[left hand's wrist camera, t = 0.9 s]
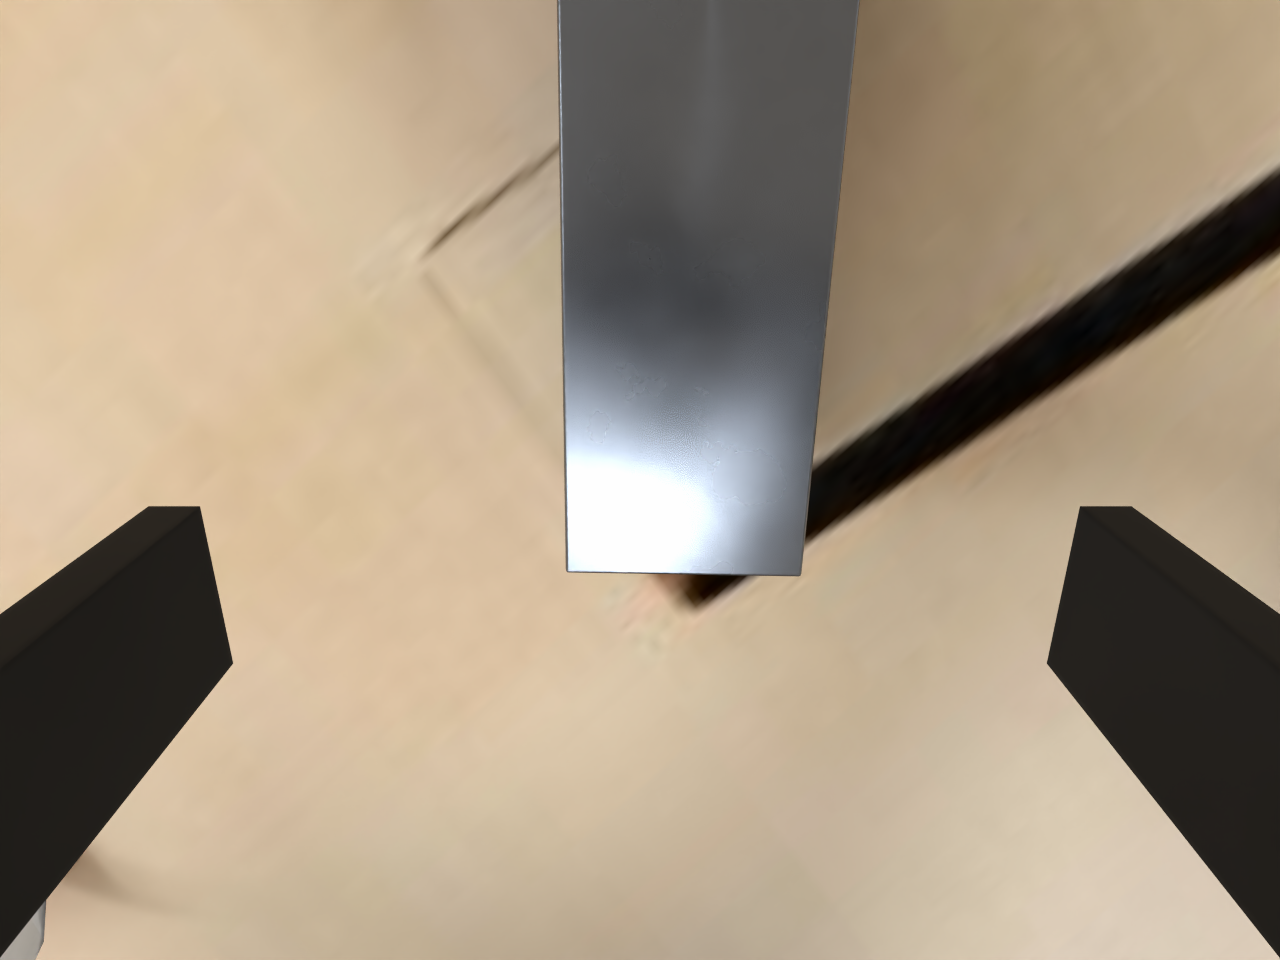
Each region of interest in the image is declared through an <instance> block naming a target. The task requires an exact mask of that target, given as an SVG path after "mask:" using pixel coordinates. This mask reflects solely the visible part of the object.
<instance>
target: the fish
mask: <svg viewBox="0 0 1280 960" xmlns="http://www.w3.org/2000/svg"><path fill="white" fill-rule="evenodd" d="M45 910H46V900H45V902H44V903H43V904H42V906H41V907H40V908H39V909H38V911H37V912H36V913H35V914H34V916H33V917H32V918H31V919H30V921H29V922H28V923H27V924H26V926H25V927H24V928H23V930H22V931H21V932H20V933H19V935H18V936H17V937H16V938H15V940H14V941H13V942H12V943H11V945H10V946H9V947H8V949H7V950H6V951H5V952H4V954H3V955H2V956H1V957H0V960H35V959H36V957H37V955H38V953H39V950H40V948H41V946H42V944H43V942H44V927H45Z"/></svg>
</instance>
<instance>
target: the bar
mask: <svg viewBox="0 0 1280 960" xmlns="http://www.w3.org/2000/svg"><path fill="white" fill-rule="evenodd" d="M859 3H860V0H557V28H558V92H559V156H560V220H561V284H562V348H563V412H564V477H565V541H566V571H567V572H580V573H639V574H697V575H756V576H800V575H801V571H802V561H803V551H804V541H805V532H806V522H807V512H808V502H809V492H810V483H811V473H812V463H813V453H814V443H815V434H816V424H817V414H818V404H819V394H820V385H821V375H822V365H823V355H824V345H825V336H826V326H827V316H828V306H829V297H830V287H831V277H832V267H833V257H834V248H835V238H836V228H837V218H838V208H839V199H840V189H841V179H842V169H843V159H844V150H845V140H846V130H847V120H848V110H849V101H850V91H851V81H852V71H853V62H854V52H855V42H856V32H857V22H858V13H859Z"/></svg>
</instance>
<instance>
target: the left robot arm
mask: <svg viewBox="0 0 1280 960" xmlns="http://www.w3.org/2000/svg"><path fill="white" fill-rule="evenodd" d="M232 664H233V661H232V656H231V651H230V646H229V642H228V637H227V632H226V627H225V623H224V618H223V613H222V609H221V604H220V599H219V594H218V590H217V585H216V580H215V575H214V571H213V566H212V561H211V557H210V552H209V547H208V542H207V538H206V533H205V528H204V524H203V519H202V514H201V509H200V506H148V507H147V508H146V509H144V510H143V511H142V512H140V513H139V514H137V515H136V516H135V517H133V518H132V519H131V520H129V521H128V522H126V523H125V524H124V525H122V526H121V527H120V528H118V529H117V530H115V531H114V532H113V533H111V534H110V535H109V536H107V537H106V538H104V539H103V540H102V541H100V542H99V543H98V544H96V545H95V546H93V547H92V548H91V549H89V550H88V551H87V552H85V553H84V554H82V555H81V556H80V557H78V558H77V559H76V560H74V561H73V562H71V563H70V564H69V565H67V566H66V567H65V568H63V569H62V570H60V571H59V572H58V573H56V574H55V575H54V576H52V577H51V578H49V579H48V580H47V581H45V582H44V583H43V584H41V585H40V586H38V587H37V588H36V589H34V590H33V591H32V592H30V593H29V594H27V595H26V596H25V597H23V598H22V599H21V600H19V601H18V602H16V603H15V604H14V605H12V606H11V607H10V608H8V609H7V610H5V611H4V612H3V613H1V614H0V957H1V956H2V955H3V954H4V952H5V951H6V950H7V949H8V947H9V946H10V945H11V943H12V942H13V941H14V940H15V938H16V937H17V936H18V935H19V933H20V932H21V931H22V930H23V928H24V927H25V926H26V924H27V923H28V922H29V921H30V919H31V918H32V917H33V916H34V914H35V913H36V912H37V911H38V909H39V908H40V907H41V906H42V904H43V903H44V902H45V900H46V899H47V898H48V897H49V895H50V894H51V893H52V892H53V890H54V889H55V888H56V887H57V885H58V884H59V883H60V882H61V880H62V879H63V878H64V876H65V875H66V874H67V873H68V871H69V870H70V869H71V868H72V866H73V865H74V864H75V863H76V861H77V860H78V859H79V858H80V856H81V855H82V854H83V852H84V851H85V850H86V849H87V847H88V846H89V845H90V844H91V842H92V841H93V840H94V839H95V837H96V836H97V835H98V833H99V832H100V831H101V830H102V828H103V827H104V826H105V825H106V823H107V822H108V821H109V820H110V818H111V817H112V816H113V815H114V813H115V812H116V811H117V809H118V808H119V807H120V806H121V804H122V803H123V802H124V801H125V799H126V798H127V797H128V796H129V794H130V793H131V792H132V791H133V789H134V788H135V787H136V785H137V784H138V783H139V782H140V780H141V779H142V778H143V777H144V775H145V774H146V773H147V772H148V770H149V769H150V768H151V767H152V765H153V764H154V763H155V761H156V760H157V759H158V758H159V756H160V755H161V754H162V753H163V751H164V750H165V749H166V748H167V746H168V745H169V744H170V743H171V741H172V740H173V739H174V737H175V736H176V735H177V734H178V732H179V731H180V730H181V729H182V727H183V726H184V725H185V724H186V722H187V721H188V720H189V718H190V717H191V716H192V715H193V713H194V712H195V711H196V710H197V708H198V707H199V706H200V705H201V703H202V702H203V701H204V700H205V698H206V697H207V696H208V694H209V693H210V692H211V691H212V689H213V688H214V687H215V686H216V684H217V683H218V682H219V681H220V679H221V678H222V677H223V676H224V674H225V673H226V672H227V670H228V669H229V668H230V667H231V665H232ZM1047 664H1048V665H1049V667H1050V668H1051V669H1052V670H1053V672H1054V673H1055V674H1056V676H1057V677H1058V678H1059V679H1060V681H1061V682H1062V683H1063V684H1064V686H1065V687H1066V688H1067V689H1068V691H1069V692H1070V693H1071V694H1072V696H1073V697H1074V698H1075V700H1076V701H1077V702H1078V703H1079V705H1080V706H1081V707H1082V708H1083V710H1084V711H1085V712H1086V713H1087V715H1088V716H1089V717H1090V718H1091V720H1092V721H1093V722H1094V724H1095V725H1096V726H1097V727H1098V729H1099V730H1100V731H1101V732H1102V734H1103V735H1104V736H1105V737H1106V739H1107V740H1108V741H1109V742H1110V744H1111V745H1112V746H1113V748H1114V749H1115V750H1116V751H1117V753H1118V754H1119V755H1120V756H1121V758H1122V759H1123V760H1124V761H1125V763H1126V764H1127V765H1128V767H1129V768H1130V769H1131V770H1132V772H1133V773H1134V774H1135V775H1136V777H1137V778H1138V779H1139V780H1140V782H1141V783H1142V784H1143V785H1144V787H1145V788H1146V789H1147V791H1148V792H1149V793H1150V794H1151V796H1152V797H1153V798H1154V799H1155V801H1156V802H1157V803H1158V804H1159V806H1160V807H1161V808H1162V809H1163V811H1164V812H1165V813H1166V815H1167V816H1168V817H1169V818H1170V820H1171V821H1172V822H1173V823H1174V825H1175V826H1176V827H1177V828H1178V830H1179V831H1180V832H1181V833H1182V835H1183V836H1184V837H1185V839H1186V840H1187V841H1188V842H1189V844H1190V845H1191V846H1192V847H1193V849H1194V850H1195V851H1196V852H1197V854H1198V855H1199V856H1200V858H1201V859H1202V860H1203V861H1204V863H1205V864H1206V865H1207V866H1208V868H1209V869H1210V870H1211V871H1212V873H1213V874H1214V875H1215V876H1216V878H1217V879H1218V880H1219V882H1220V883H1221V884H1222V885H1223V887H1224V888H1225V889H1226V890H1227V892H1228V893H1229V894H1230V895H1231V897H1232V898H1233V899H1234V900H1235V902H1236V903H1237V904H1238V906H1239V907H1240V908H1241V909H1242V911H1243V912H1244V913H1245V914H1246V916H1247V917H1248V918H1249V919H1250V921H1251V922H1252V923H1253V924H1254V926H1255V927H1256V928H1257V930H1258V931H1259V932H1260V933H1261V935H1262V936H1263V937H1264V938H1265V940H1266V941H1267V942H1268V943H1269V945H1270V946H1271V947H1272V949H1273V950H1274V951H1275V952H1276V954H1277V955H1278V956H1279V957H1280V614H1279V613H1277V612H1276V611H1275V610H1273V609H1272V608H1270V607H1269V606H1268V605H1266V604H1265V603H1264V602H1262V601H1261V600H1259V599H1258V598H1257V597H1255V596H1254V595H1253V594H1251V593H1250V592H1248V591H1247V590H1246V589H1244V588H1243V587H1242V586H1240V585H1239V584H1237V583H1236V582H1235V581H1233V580H1232V579H1231V578H1229V577H1228V576H1226V575H1225V574H1224V573H1222V572H1221V571H1220V570H1218V569H1217V568H1215V567H1214V566H1213V565H1211V564H1210V563H1209V562H1207V561H1206V560H1204V559H1203V558H1202V557H1200V556H1199V555H1198V554H1196V553H1195V552H1193V551H1192V550H1191V549H1189V548H1188V547H1187V546H1185V545H1184V544H1182V543H1181V542H1180V541H1178V540H1177V539H1176V538H1174V537H1173V536H1171V535H1170V534H1169V533H1167V532H1166V531H1165V530H1163V529H1162V528H1160V527H1159V526H1158V525H1156V524H1155V523H1154V522H1152V521H1151V520H1149V519H1148V518H1147V517H1145V516H1144V515H1143V514H1141V513H1140V512H1138V511H1137V510H1136V509H1134V508H1133V507H1132V506H1080V509H1079V514H1078V519H1077V524H1076V528H1075V533H1074V538H1073V542H1072V547H1071V552H1070V557H1069V561H1068V566H1067V571H1066V575H1065V580H1064V585H1063V590H1062V594H1061V599H1060V604H1059V609H1058V613H1057V618H1056V623H1055V627H1054V632H1053V637H1052V642H1051V646H1050V651H1049V656H1048V661H1047Z"/></svg>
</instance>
